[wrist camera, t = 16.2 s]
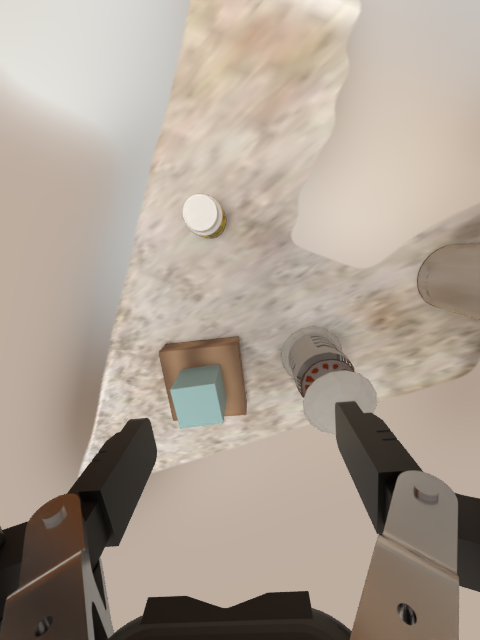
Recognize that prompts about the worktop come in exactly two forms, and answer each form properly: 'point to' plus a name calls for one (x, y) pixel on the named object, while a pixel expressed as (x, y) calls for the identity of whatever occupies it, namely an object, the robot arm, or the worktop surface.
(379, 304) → the worktop surface
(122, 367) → the worktop surface
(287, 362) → the french press
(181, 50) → the worktop surface
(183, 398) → the teal cube
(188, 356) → the walnut block
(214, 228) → the supplement bottle
